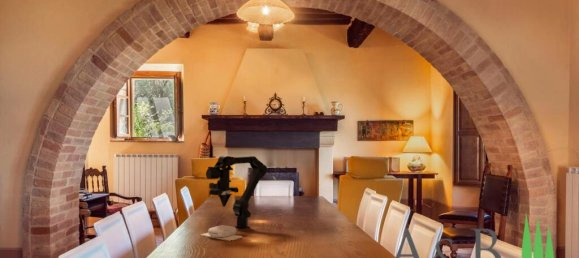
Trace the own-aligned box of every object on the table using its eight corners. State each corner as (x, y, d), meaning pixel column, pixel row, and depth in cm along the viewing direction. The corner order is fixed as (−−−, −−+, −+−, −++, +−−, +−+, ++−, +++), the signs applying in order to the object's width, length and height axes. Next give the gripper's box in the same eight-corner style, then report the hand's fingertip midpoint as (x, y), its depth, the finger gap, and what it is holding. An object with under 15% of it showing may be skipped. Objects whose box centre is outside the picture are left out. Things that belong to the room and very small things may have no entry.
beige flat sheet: (212, 232, 240) (212, 231, 240) (242, 237, 229) (242, 236, 229) (200, 235, 232) (200, 234, 232) (230, 240, 222) (230, 239, 222)
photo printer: (236, 226, 233) (221, 230, 223) (236, 234, 233) (221, 239, 222) (221, 224, 238) (205, 228, 228) (221, 232, 238) (205, 236, 228)
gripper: (224, 176, 260) (223, 203, 260) (202, 178, 244) (201, 207, 244) (239, 177, 254) (238, 205, 254) (217, 179, 238) (216, 209, 238)
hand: (223, 206), depth 248 cm, fingers closed
